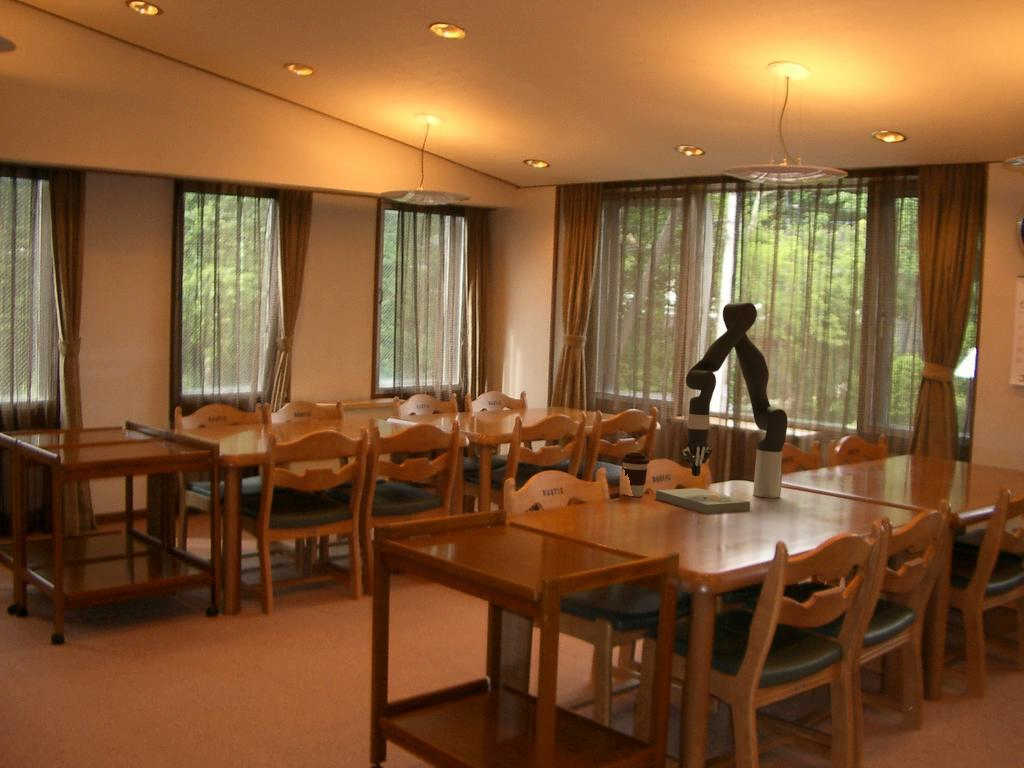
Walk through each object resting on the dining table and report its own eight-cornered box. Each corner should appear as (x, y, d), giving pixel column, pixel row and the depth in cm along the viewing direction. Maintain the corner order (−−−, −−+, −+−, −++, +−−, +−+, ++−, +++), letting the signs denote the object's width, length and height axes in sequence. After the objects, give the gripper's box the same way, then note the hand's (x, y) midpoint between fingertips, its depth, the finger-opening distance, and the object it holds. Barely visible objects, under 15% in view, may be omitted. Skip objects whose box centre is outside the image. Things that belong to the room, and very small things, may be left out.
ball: (715, 511, 359) (708, 500, 362) (726, 502, 357) (718, 491, 360) (707, 509, 356) (700, 498, 359) (718, 500, 354) (711, 489, 357)
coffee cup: (646, 493, 378) (649, 452, 377) (647, 498, 368) (650, 456, 367) (618, 491, 379) (621, 450, 378) (618, 496, 369) (621, 454, 368)
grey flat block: (698, 496, 379) (699, 488, 379) (749, 510, 357) (750, 501, 357) (655, 498, 369) (656, 490, 368) (705, 513, 347) (706, 504, 346)
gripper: (705, 425, 372) (702, 473, 373) (676, 426, 365) (674, 475, 366) (719, 427, 365) (717, 476, 367) (691, 429, 358) (688, 478, 360)
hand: (695, 475), depth 366 cm, fingers closed
